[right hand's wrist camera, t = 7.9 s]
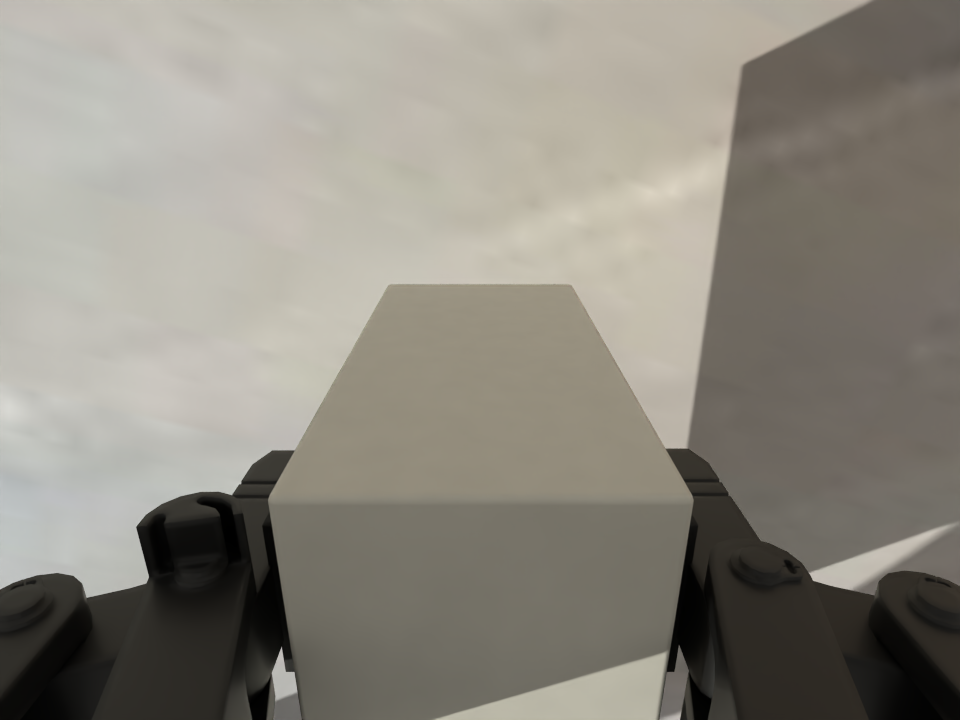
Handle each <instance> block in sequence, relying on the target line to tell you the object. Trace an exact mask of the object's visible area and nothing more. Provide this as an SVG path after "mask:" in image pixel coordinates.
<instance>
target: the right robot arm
mask: <svg viewBox="0 0 960 720" xmlns="http://www.w3.org/2000/svg"><path fill="white" fill-rule="evenodd" d="M666 451H667V452H668V454H669V456H670V458H671V459H672V461H673V463H674V465H675V466H676V468H677V470H678V472H679V473H680V475H681V477H682V479H683V480H684V482H685V484H686V485H687V487H688V489H689V491H690V492H691V494H692V497H693V500H694V501H693V508H692V514H691V521H690V527H689V533H688V540H687V546H686V552H685V559H684V565H683V571H682V578H681V584H680V590H679V597H678V603H677V609H676V616H675V622H674V628H673V635H672V641H671V647H670V654H669V660H668V666H667V672H674V671H675V665H676V658H677V652H678V646H680V648H681V651H682V653H683V656H684V659H685V661H686V664H687V667H688V669H689V673H688V678H687V684H686V690H685V695H684V701H683V707H682V712H681V718H680V720H960V586H958V585H956V584H954V583H952V582H950V581H948V580H945V579H942V578H940V577H935V576H933V575H929V574H926V573H919V572H911V571H899V572H894V573H888V574H887V575H886V576H885V577H883V578H882V579H881V580H880V581H879V583H878V587H877V590H876V593H875V596H874V595H869V594H865V593H860V592H856V591H851V590H846V589H842V588H837V587H833V586H829V585H825V584H822V583H818V582H815V581H813V580H812V578H811V576H810V574H809V573H808V571H807V570H806V568H805V567H804V566H803V564H802V563H801V562H800V561H798V560H797V559H796V558H795V557H793V556H792V555H791V554H789V553H788V552H787V551H784V550H782V549H780V548H778V547H776V546H774V545H772V544H770V543H766V542H762V541H760V539H759V538H758V536H757V535H756V533H755V532H754V530H753V529H752V527H751V526H750V524H749V523H748V521H747V520H746V518H745V517H744V515H743V514H742V513H741V511H740V510H739V508H738V507H737V505H736V504H735V502H734V501H733V499H732V498H731V496H728V492H727V490H726V489H725V487H724V486H723V484H722V483H719V478H718V477H717V475H716V474H715V472H714V471H713V469H712V468H711V466H710V465H709V463H708V462H706V461H705V460H703V459H702V458H701V457H699V456H698V455H696V454H695V453H694V452H692V451H691V450H689V449H666ZM293 453H294V451H271V452H270V453H268V454H267V455H265V456H264V457H263V458H261V459H260V460H258V461H257V462H256V463H254V464H253V465H252V466H251V468H250V469H249V471H248V472H247V474H246V475H245V477H244V478H243V480H242V481H241V482H242V483H241V484H239V486H238V487H237V489H236V490H235V492H234V493H233V495H229V494H225V493H221V492H199V493H194V494H190V495H185V496H181V497H178V498H176V499H173V500H171V501H169V502H166V503H164V504H161V505H160V506H158V507H157V508H156V509H154V510H153V511H151V512H150V513H148V514H147V515H146V516H145V517H144V518H143V519H142V521H141V522H140V523H139V524H138V526H137V527H136V528H137V532H138V536H139V539H140V543H141V547H142V551H143V555H144V559H145V562H146V566H147V570H148V574H149V579H148V581H147V584H144V585H140V586H137V587H133V588H130V589H125V590H121V591H116V592H112V593H107V594H103V595H98V596H94V597H89V598H86V595H85V591H84V588H83V585H82V583H81V582H80V581H78V580H77V579H76V578H75V577H74V576H71V575H65V574H59V573H55V574H46V575H37V576H34V577H31V578H27V579H24V580H20V581H18V582H15V583H12V584H10V585H8V586H6V587H4V588H2V589H1V590H0V720H273V715H274V705H275V691H274V684H273V678H272V670H273V668H274V665H275V663H276V660H277V657H278V655H279V652H280V649H281V647H282V650H283V656H284V662H285V669H286V672H295V671H294V665H293V658H292V652H291V645H290V639H289V632H288V626H287V620H286V613H285V607H284V600H283V594H282V587H281V581H280V574H279V568H278V562H277V555H276V549H275V542H274V536H273V529H272V523H271V516H270V510H269V503H268V499H269V496H270V494H271V492H272V490H273V488H274V487H275V485H276V483H277V481H278V480H279V478H280V476H281V474H282V473H283V471H284V469H285V467H286V465H287V464H288V462H289V460H290V458H291V457H292V455H293Z"/></svg>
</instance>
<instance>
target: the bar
mask: <svg viewBox="0 0 960 720" xmlns="http://www.w3.org/2000/svg"><path fill="white" fill-rule="evenodd" d="M693 501H694V500H693V497H692V494H691V492H690V491H689V489H688V487H687V485H686V484H685V482H684V480H683V479H682V477H681V475H680V473H679V472H678V470H677V468H676V466H675V465H674V463H673V461H672V459H671V458H670V456H669V454H668V452H667V451H666V449H665V447H664V445H663V444H662V442H661V440H660V439H659V437H658V435H657V433H656V432H655V430H654V428H653V426H652V425H651V423H650V421H649V419H648V418H647V416H646V414H645V412H644V411H643V409H642V407H641V405H640V404H639V402H638V400H637V398H636V397H635V395H634V393H633V392H632V390H631V388H630V386H629V385H628V383H627V381H626V379H625V378H624V376H623V374H622V372H621V371H620V369H619V367H618V365H617V364H616V362H615V360H614V358H613V357H612V355H611V353H610V351H609V350H608V348H607V346H606V345H605V343H604V341H603V339H602V338H601V336H600V334H599V332H598V331H597V329H596V327H595V325H594V324H593V322H592V320H591V318H590V317H589V315H588V313H587V311H586V310H585V308H584V306H583V305H582V303H581V301H580V299H579V298H578V296H577V294H576V292H575V291H574V289H573V287H572V286H571V285H389V286H388V287H387V289H386V290H385V292H384V294H383V296H382V297H381V299H380V301H379V303H378V305H377V306H376V308H375V310H374V312H373V313H372V315H371V317H370V319H369V320H368V322H367V324H366V326H365V328H364V329H363V331H362V333H361V335H360V336H359V338H358V340H357V342H356V343H355V345H354V347H353V349H352V351H351V352H350V354H349V356H348V358H347V359H346V361H345V363H344V365H343V366H342V368H341V370H340V372H339V374H338V375H337V377H336V379H335V381H334V382H333V384H332V386H331V388H330V389H329V391H328V393H327V395H326V396H325V398H324V400H323V402H322V404H321V405H320V407H319V409H318V411H317V412H316V414H315V416H314V418H313V419H312V421H311V423H310V425H309V427H308V428H307V430H306V432H305V434H304V435H303V437H302V439H301V441H300V442H299V444H298V446H297V448H296V450H295V451H294V453H293V455H292V457H291V458H290V460H289V462H288V464H287V465H286V467H285V469H284V471H283V473H282V474H281V476H280V478H279V480H278V481H277V483H276V485H275V487H274V488H273V490H272V492H271V494H270V496H269V499H268V503H269V510H270V516H271V523H272V529H273V536H274V542H275V549H276V555H277V562H278V568H279V574H280V581H281V587H282V594H283V600H284V607H285V613H286V620H287V626H288V632H289V639H290V645H291V652H292V658H293V665H294V671H295V678H296V684H297V691H298V697H299V703H300V710H301V716H302V720H659V717H660V711H661V705H662V698H663V692H664V685H665V679H666V673H667V666H668V660H669V654H670V647H671V641H672V635H673V628H674V622H675V616H676V609H677V603H678V597H679V590H680V584H681V578H682V571H683V565H684V559H685V552H686V546H687V540H688V533H689V527H690V521H691V514H692V508H693Z"/></svg>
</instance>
